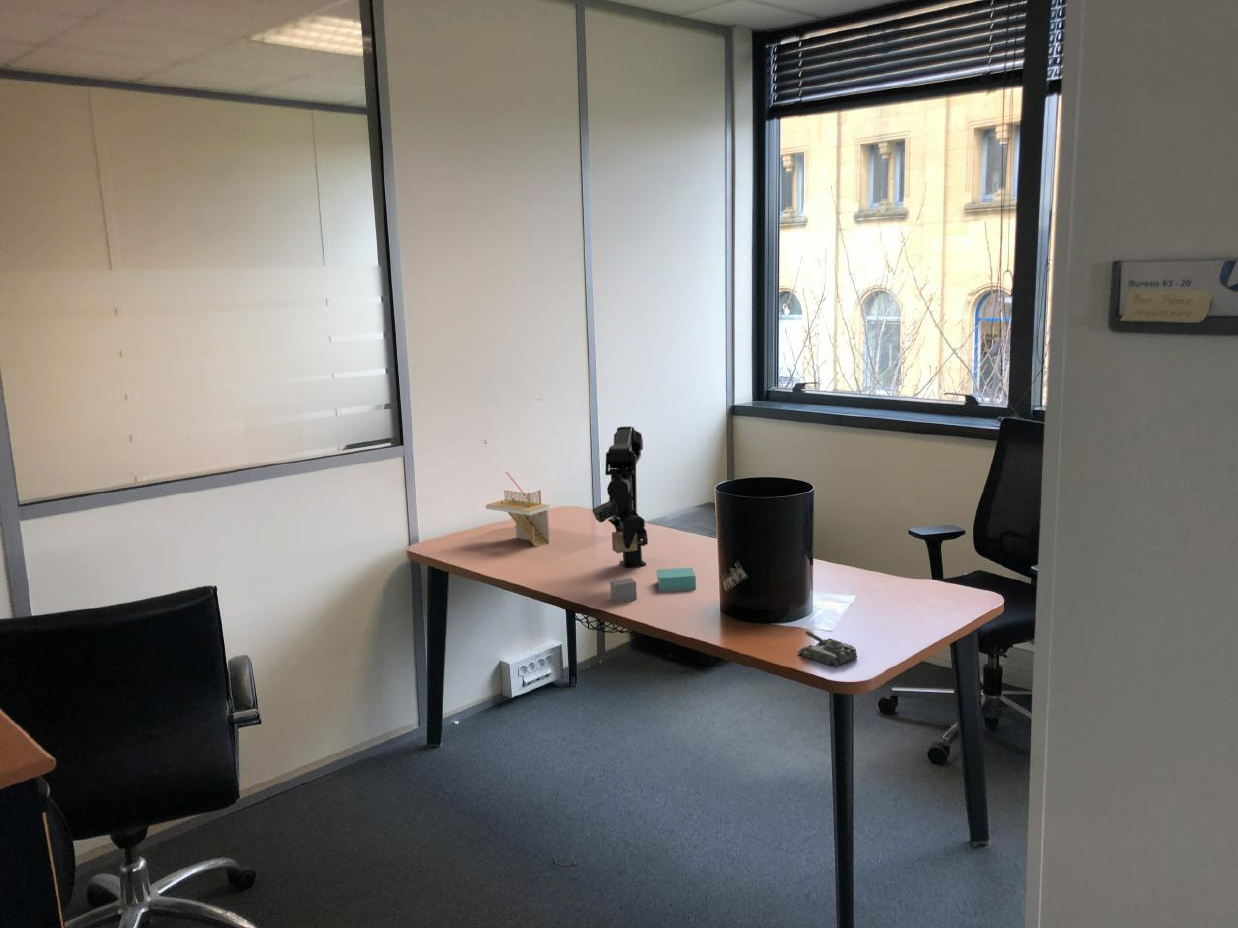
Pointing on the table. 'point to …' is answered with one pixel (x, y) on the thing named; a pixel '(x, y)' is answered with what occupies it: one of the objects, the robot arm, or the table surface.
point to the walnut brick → (622, 543)
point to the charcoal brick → (623, 590)
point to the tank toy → (829, 651)
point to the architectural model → (526, 516)
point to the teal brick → (676, 579)
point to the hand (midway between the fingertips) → (624, 546)
